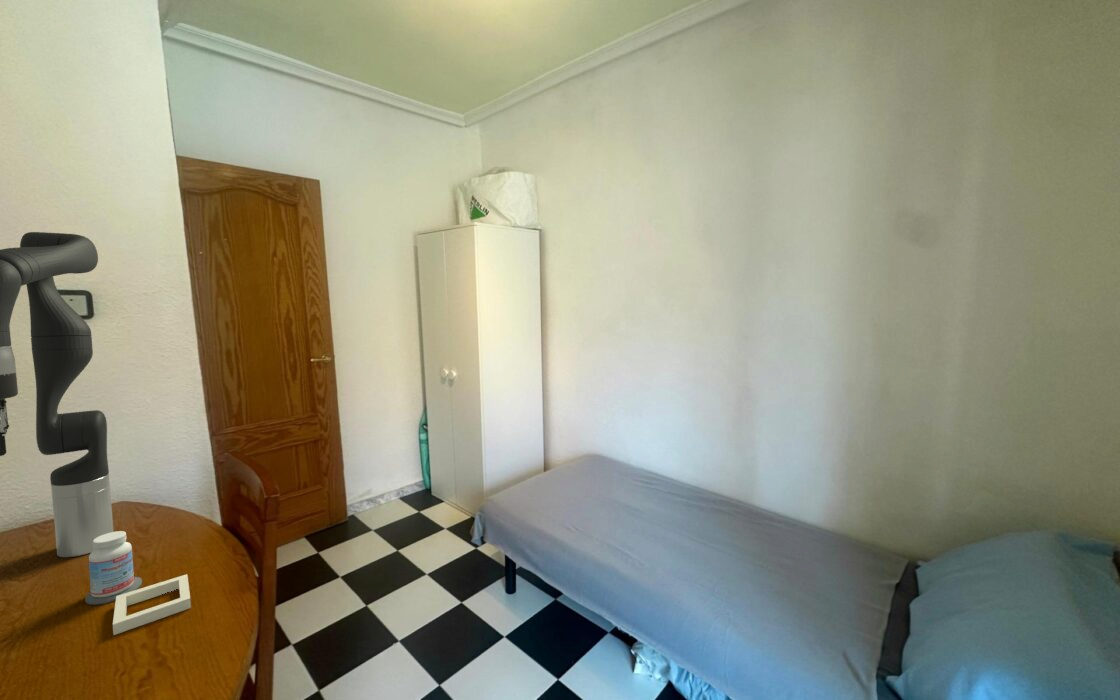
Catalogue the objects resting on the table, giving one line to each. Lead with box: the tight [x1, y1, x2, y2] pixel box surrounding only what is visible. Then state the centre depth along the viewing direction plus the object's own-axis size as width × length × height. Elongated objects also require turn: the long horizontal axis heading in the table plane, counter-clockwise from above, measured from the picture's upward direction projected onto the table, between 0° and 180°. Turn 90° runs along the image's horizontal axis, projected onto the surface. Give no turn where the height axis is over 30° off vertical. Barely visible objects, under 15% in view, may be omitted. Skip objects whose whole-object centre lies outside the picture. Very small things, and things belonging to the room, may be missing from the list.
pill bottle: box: [88, 530, 135, 598], centre depth 86 cm, size 6×6×11 cm
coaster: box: [84, 576, 143, 606], centre depth 87 cm, size 8×8×1 cm
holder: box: [112, 573, 192, 636], centre depth 82 cm, size 10×10×2 cm
